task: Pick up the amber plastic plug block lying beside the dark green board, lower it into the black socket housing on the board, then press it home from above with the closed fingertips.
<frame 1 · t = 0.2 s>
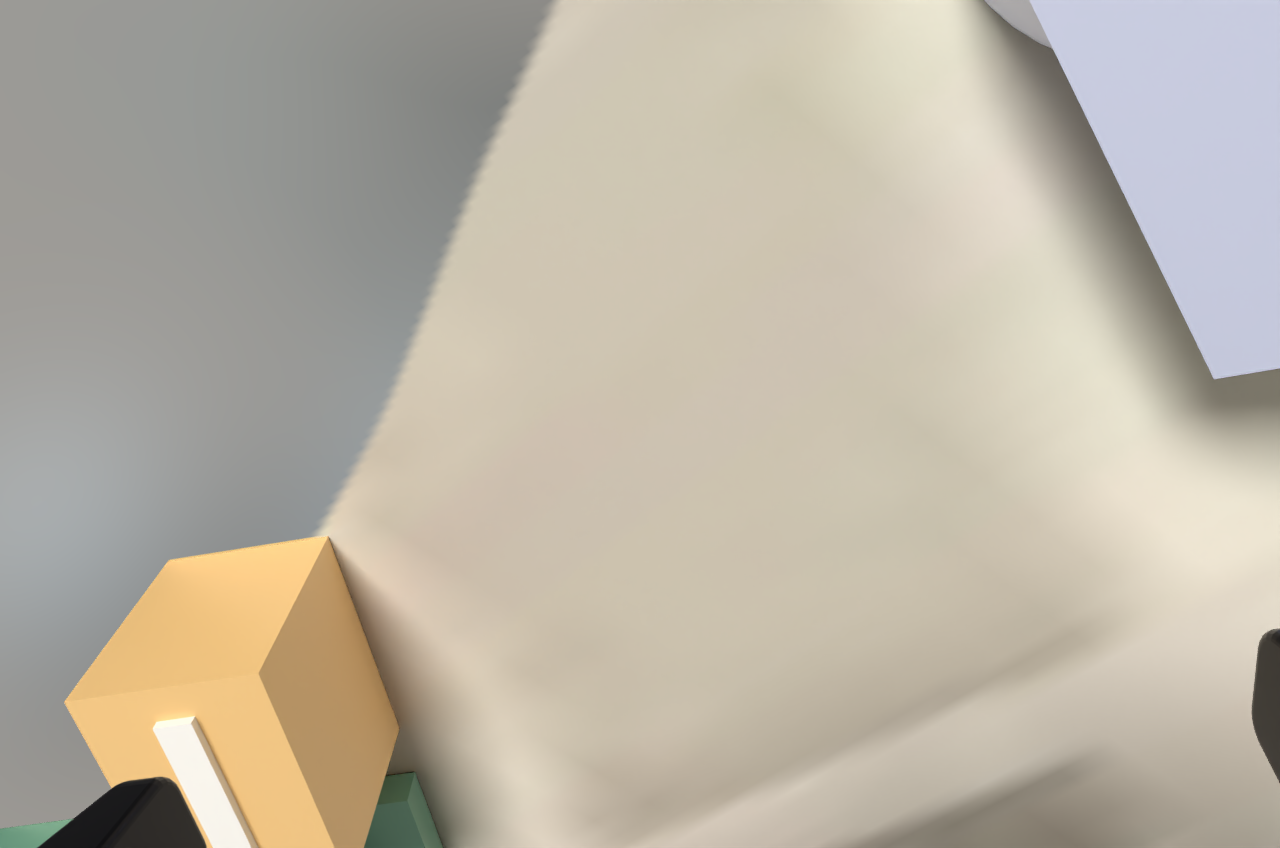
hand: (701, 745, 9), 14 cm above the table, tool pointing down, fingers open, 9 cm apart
plug: (289, 646, 26), on the table
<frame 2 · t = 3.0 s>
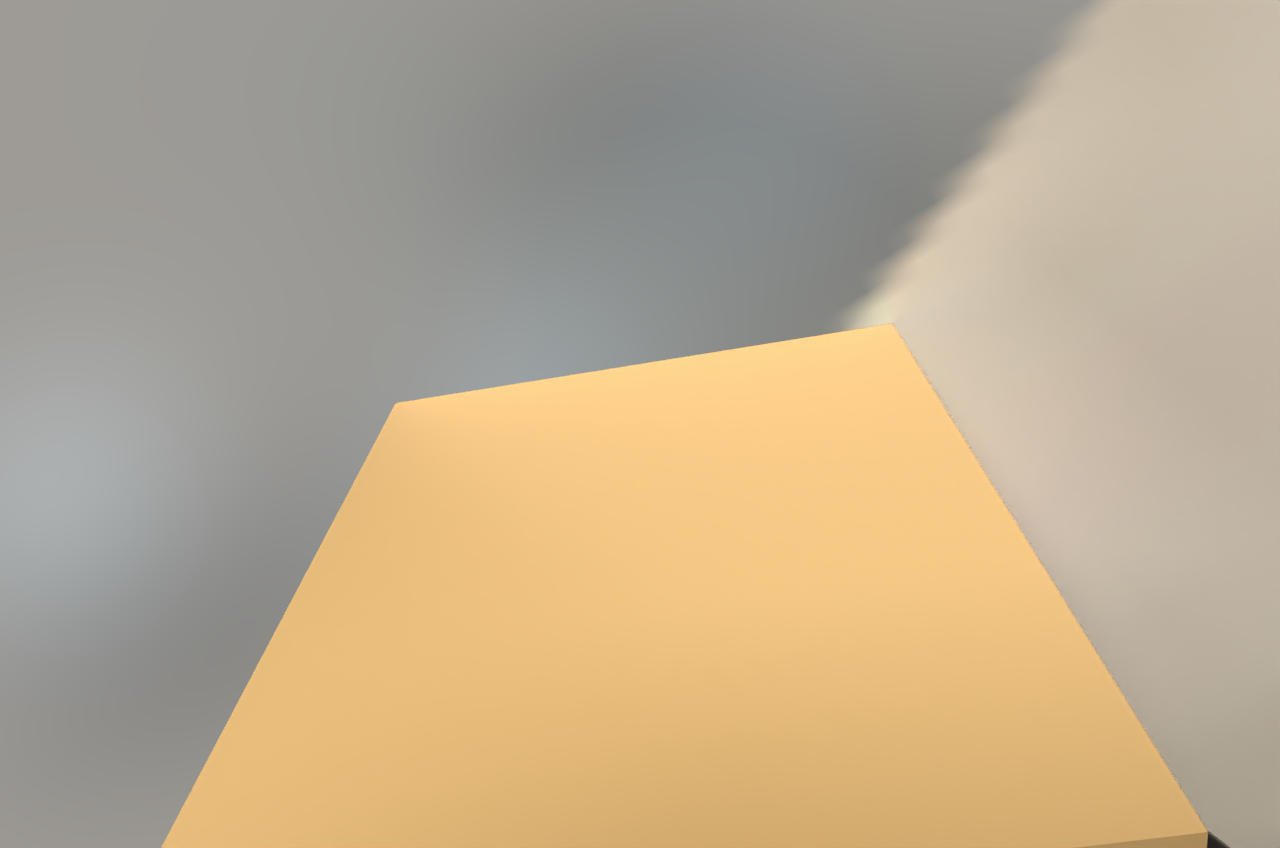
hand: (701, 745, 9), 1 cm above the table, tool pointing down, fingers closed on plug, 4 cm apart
plug: (695, 662, 9), on the table, touching gripper
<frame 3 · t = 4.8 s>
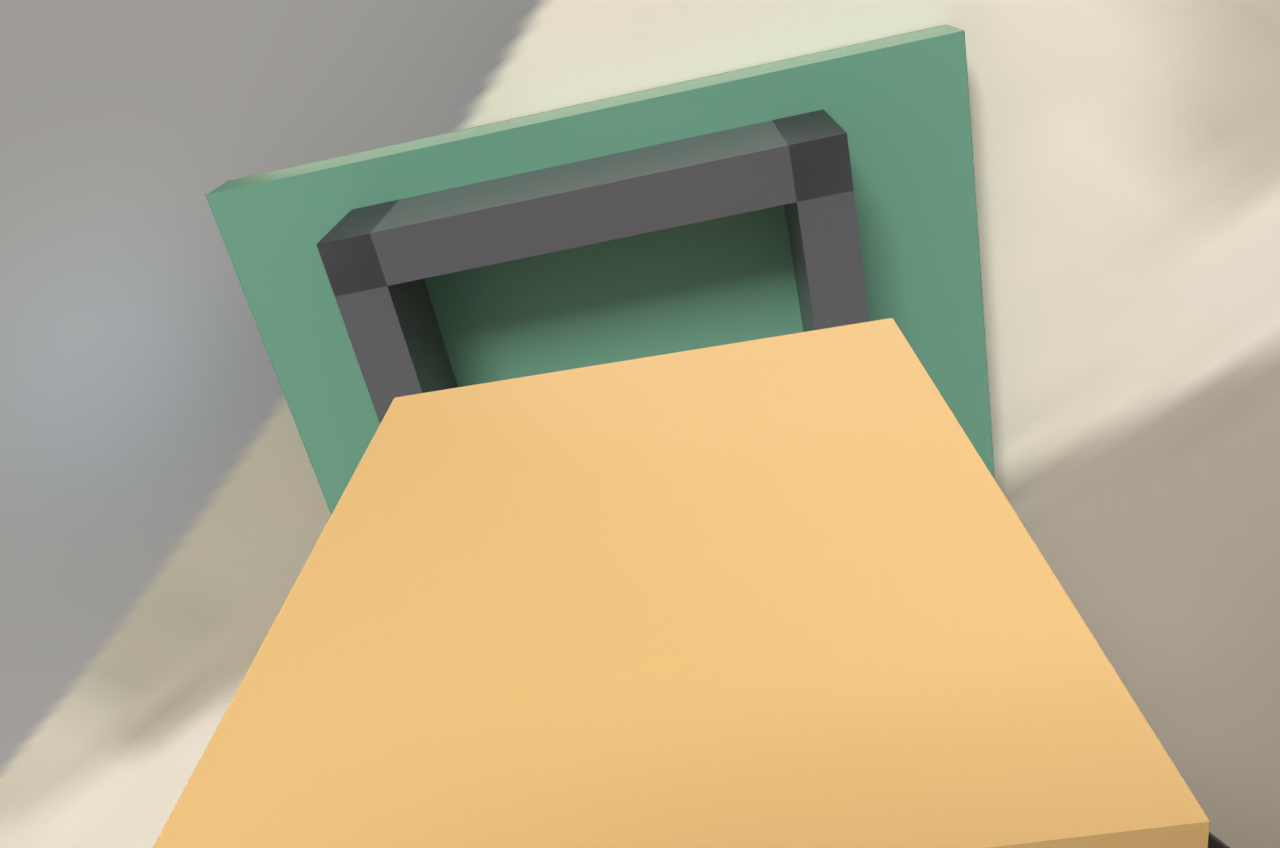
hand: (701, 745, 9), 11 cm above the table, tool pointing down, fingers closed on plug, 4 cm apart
socket board: (644, 405, 19), on the table
plug: (695, 658, 9), point 10 cm above the table, touching gripper
when the fingers open (4 cm above the table, at t = 6.9 s): plug drops 2 cm, resting on socket board.
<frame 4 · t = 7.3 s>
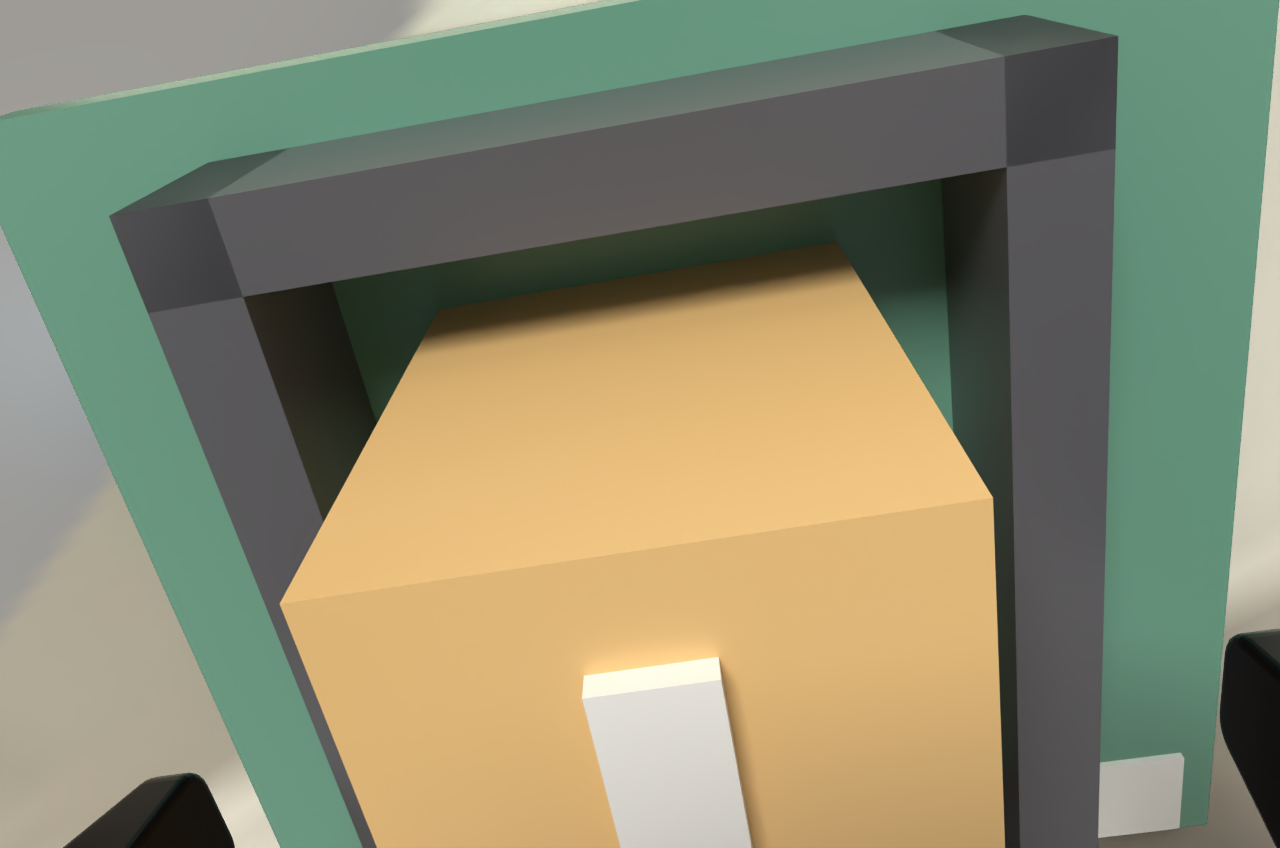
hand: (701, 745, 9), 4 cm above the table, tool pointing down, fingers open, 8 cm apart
socket board: (681, 488, 12), on the table
plug: (682, 531, 11), point 1 cm above the table, touching socket board
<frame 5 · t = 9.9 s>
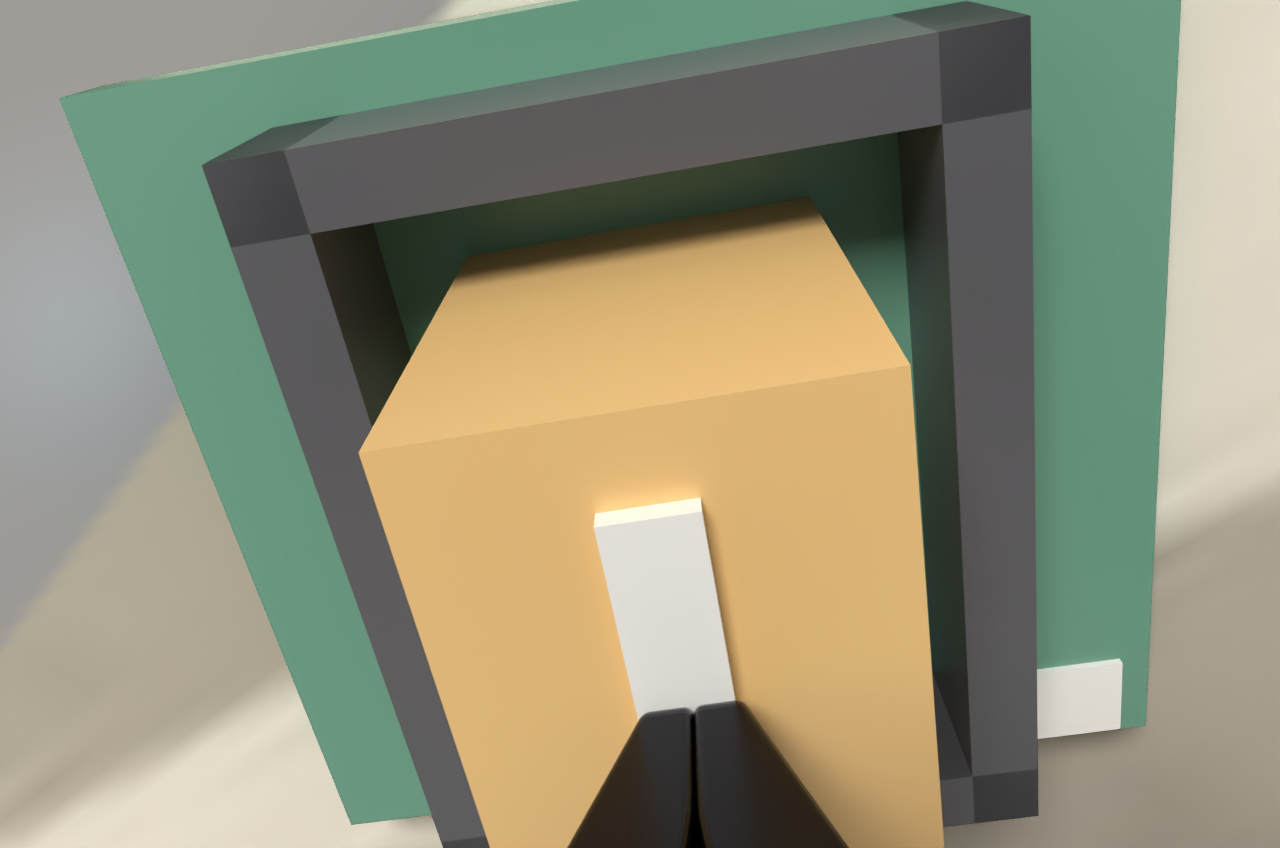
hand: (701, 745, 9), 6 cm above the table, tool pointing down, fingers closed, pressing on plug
socket board: (677, 422, 14), on the table
plug: (677, 455, 13), point 1 cm above the table, touching gripper, socket board
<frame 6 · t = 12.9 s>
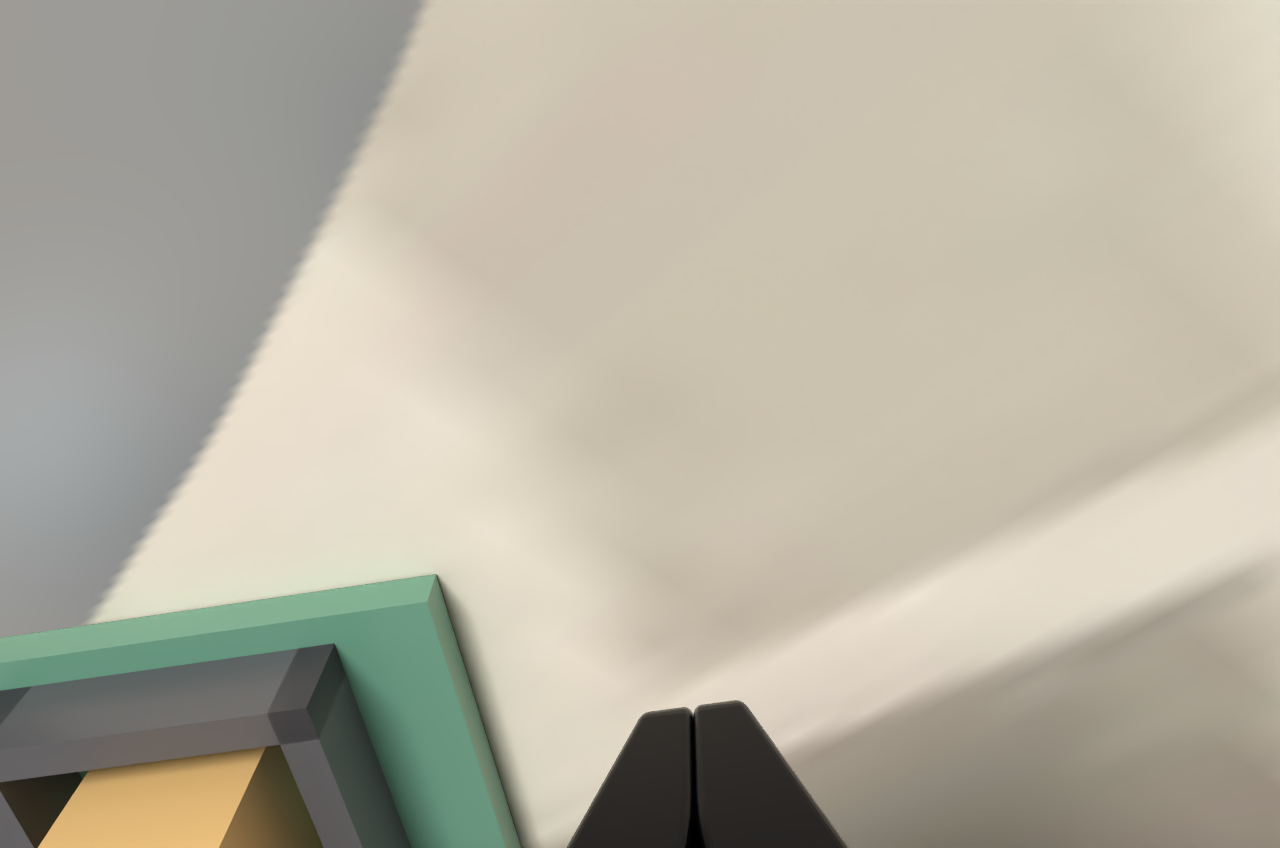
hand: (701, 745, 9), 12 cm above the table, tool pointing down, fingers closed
socket board: (254, 796, 25), on the table
plug: (238, 828, 24), point 1 cm above the table, touching socket board
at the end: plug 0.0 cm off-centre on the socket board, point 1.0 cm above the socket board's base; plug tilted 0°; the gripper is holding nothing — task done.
